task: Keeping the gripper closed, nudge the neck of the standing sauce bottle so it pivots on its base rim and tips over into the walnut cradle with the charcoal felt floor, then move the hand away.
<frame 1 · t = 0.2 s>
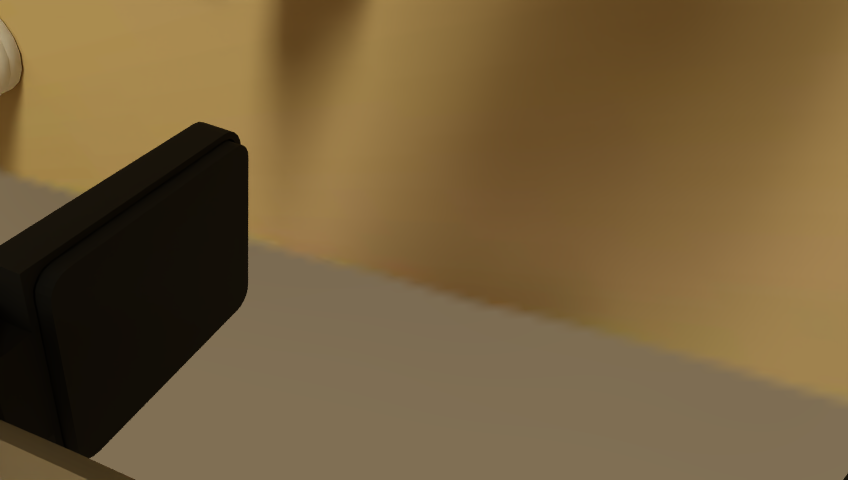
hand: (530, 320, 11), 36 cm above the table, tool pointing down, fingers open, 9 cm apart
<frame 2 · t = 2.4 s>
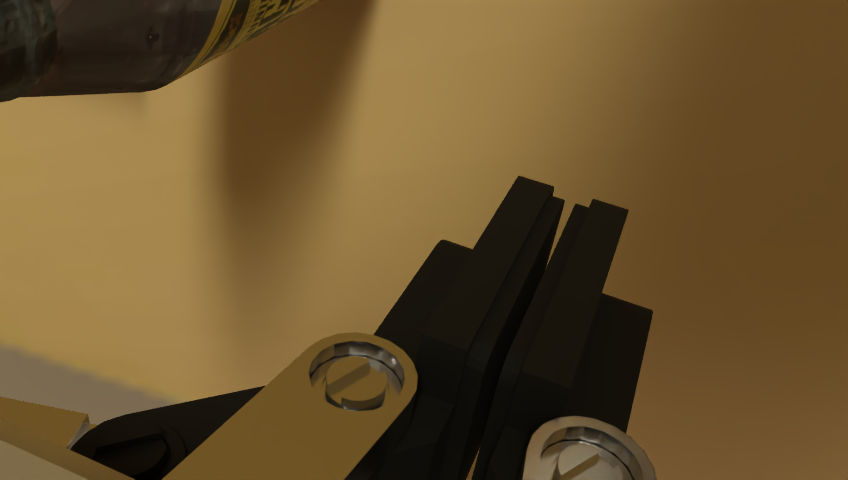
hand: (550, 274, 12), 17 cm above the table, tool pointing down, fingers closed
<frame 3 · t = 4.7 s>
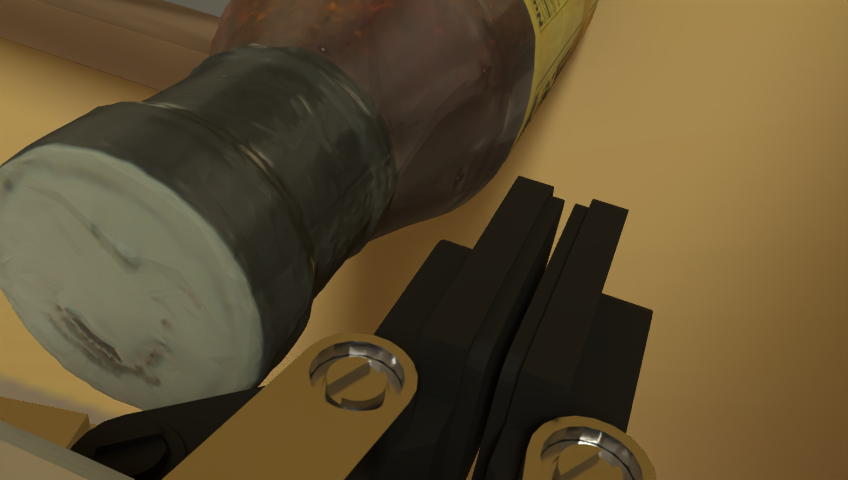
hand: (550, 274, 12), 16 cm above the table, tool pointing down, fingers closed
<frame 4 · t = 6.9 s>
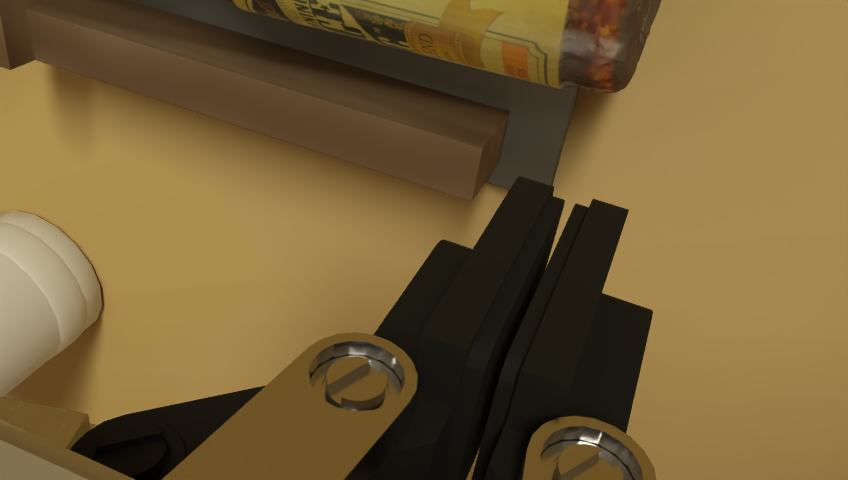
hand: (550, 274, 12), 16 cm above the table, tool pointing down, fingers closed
bottle: (49, 268, 43), on the table
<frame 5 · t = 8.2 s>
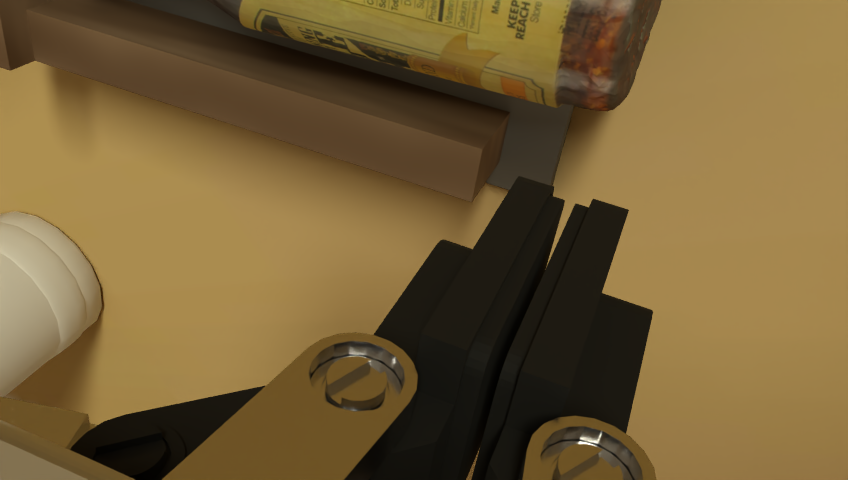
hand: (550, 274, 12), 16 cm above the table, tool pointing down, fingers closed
bottle: (49, 268, 43), on the table
sauce bottle: (661, 13, 20), point 4 cm above the table, touching cradle
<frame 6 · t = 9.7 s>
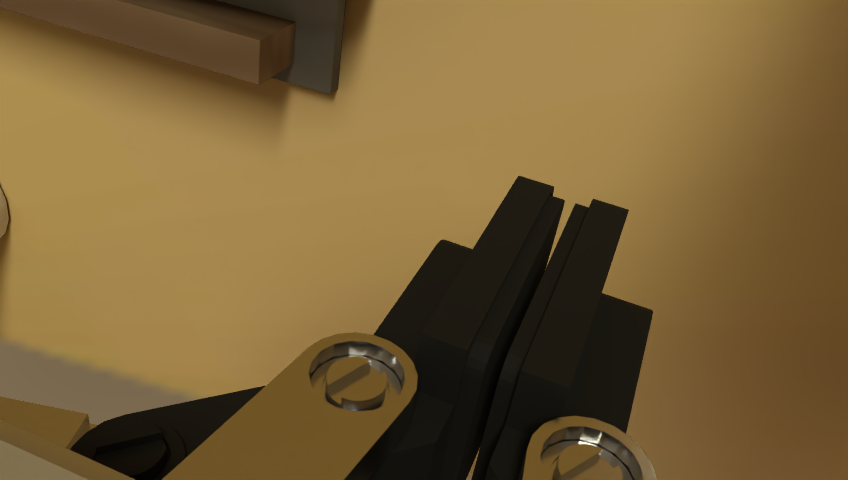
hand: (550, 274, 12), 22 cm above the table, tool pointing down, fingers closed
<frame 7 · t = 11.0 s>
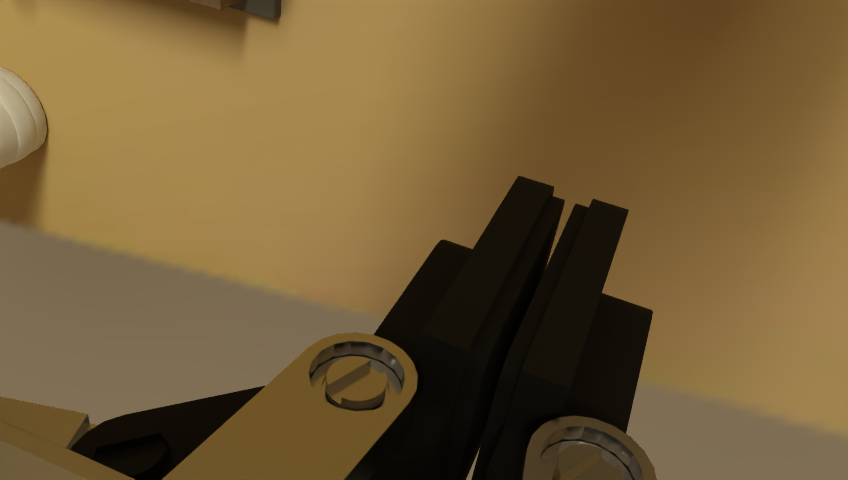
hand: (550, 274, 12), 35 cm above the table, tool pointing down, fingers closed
bottle: (13, 108, 66), on the table
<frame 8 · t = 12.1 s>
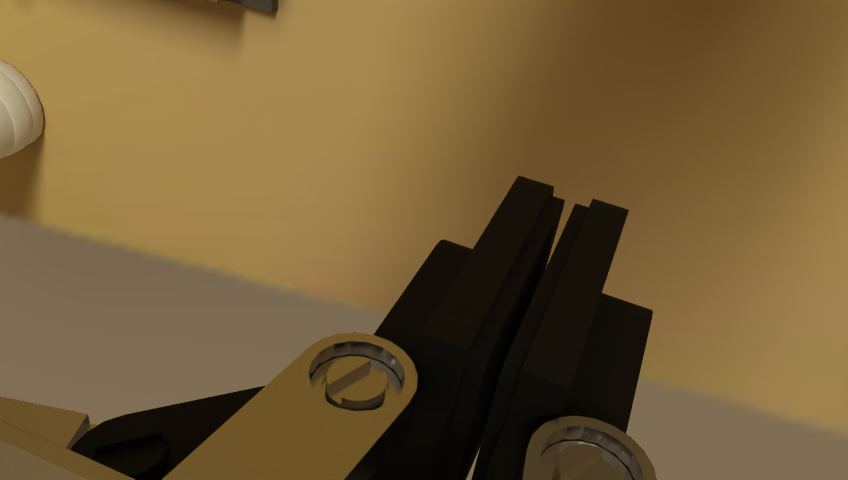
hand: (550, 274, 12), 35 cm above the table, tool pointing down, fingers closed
bottle: (10, 100, 66), on the table
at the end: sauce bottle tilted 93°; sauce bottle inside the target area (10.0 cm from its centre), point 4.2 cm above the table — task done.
